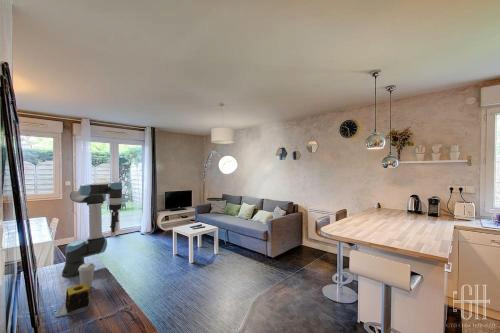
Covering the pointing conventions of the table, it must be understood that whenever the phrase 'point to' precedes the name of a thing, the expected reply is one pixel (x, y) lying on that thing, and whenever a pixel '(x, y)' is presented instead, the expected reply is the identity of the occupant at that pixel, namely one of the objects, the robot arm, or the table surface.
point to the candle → (77, 297)
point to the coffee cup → (86, 273)
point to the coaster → (64, 312)
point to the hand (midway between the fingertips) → (114, 233)
